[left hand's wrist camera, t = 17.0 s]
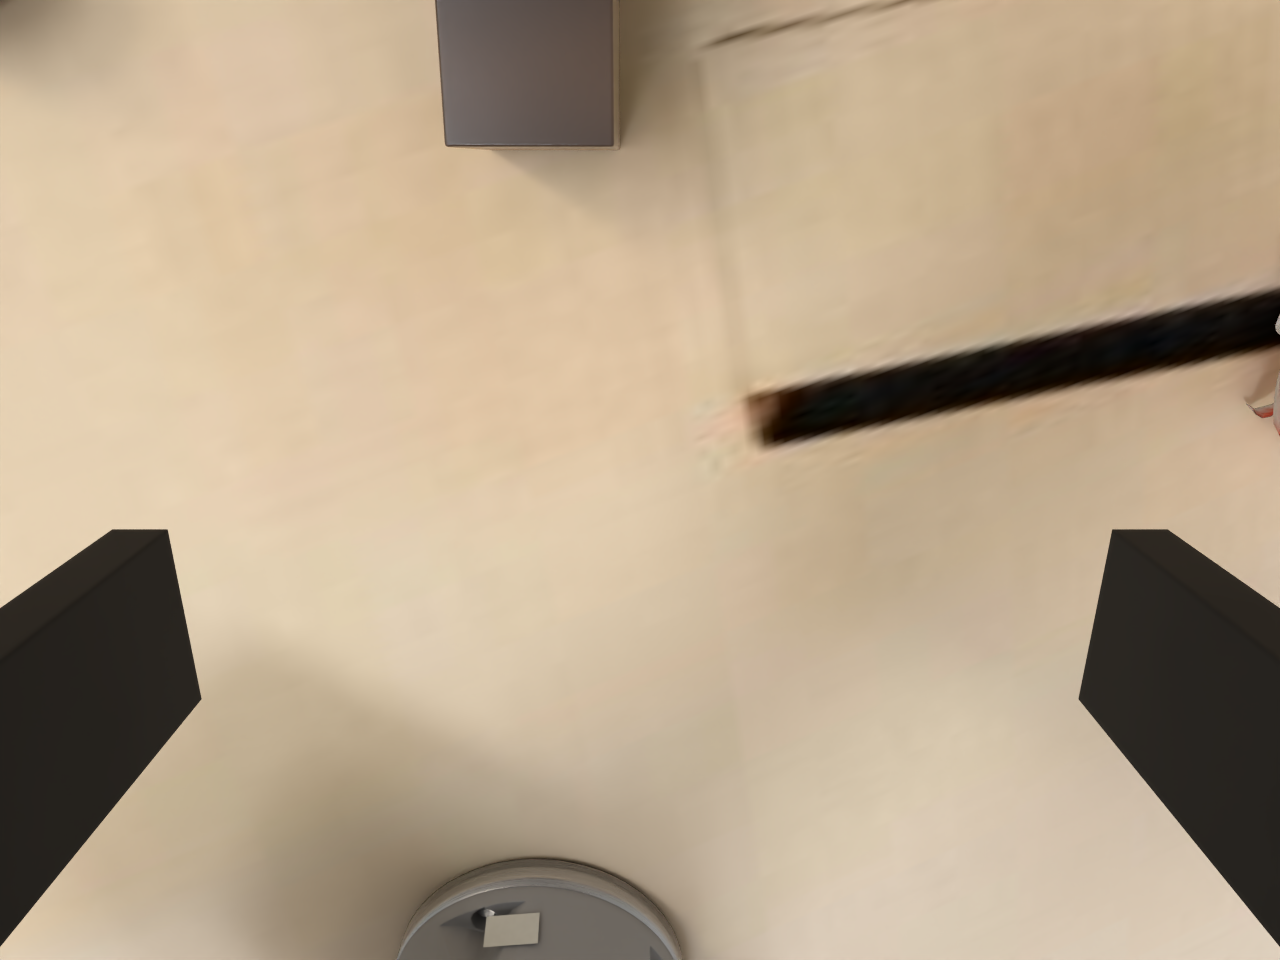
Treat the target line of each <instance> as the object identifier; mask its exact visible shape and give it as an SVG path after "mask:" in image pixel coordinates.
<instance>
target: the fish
mask: <svg viewBox="0 0 1280 960" xmlns="http://www.w3.org/2000/svg"><path fill="white" fill-rule="evenodd" d="M1276 331H1277V333H1278V334H1279V335H1280V315H1279V318H1278V320H1277V323H1276ZM1247 405H1248V404H1247ZM1248 407H1249V408H1250V409H1251V410H1252V411H1254V412H1255V414H1256V415H1258V416H1260V417H1261V418H1266V417H1270V416H1272V415H1273V421H1274V425H1275V427H1276V429H1277V431H1278V433H1279V435H1280V371H1279V374H1278V378H1277V383H1276V388H1275V397H1274V403H1273V404H1271V405H1267V406H1263V407H1259V408H1255V409H1253V408H1252V407H1251V406H1249V405H1248Z"/></svg>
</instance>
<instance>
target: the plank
mask: <svg viewBox="0 0 1280 960" xmlns="http://www.w3.org/2000/svg"><path fill="white" fill-rule="evenodd" d="M435 6H436V21H437V35H438V49H439V64H440V78H441V93H442V107H443V122H444V136H445V145H446V146H447V147H457V148H471V149H485V150H619V149H620V70H619V0H435Z"/></svg>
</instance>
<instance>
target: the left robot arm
mask: <svg viewBox="0 0 1280 960" xmlns="http://www.w3.org/2000/svg"><path fill="white" fill-rule="evenodd" d="M200 700H201V694H200V689H199V684H198V679H197V674H196V669H195V664H194V659H193V654H192V649H191V644H190V639H189V634H188V629H187V624H186V619H185V614H184V609H183V604H182V599H181V594H180V589H179V584H178V579H177V574H176V569H175V564H174V559H173V554H172V549H171V544H170V539H169V534H168V530H111V531H110V532H108V533H107V534H105V535H104V536H102V537H101V538H100V539H98V540H97V541H95V542H94V543H92V544H91V545H90V546H88V547H87V548H85V549H84V550H83V551H81V552H80V553H78V554H77V555H75V556H74V557H73V558H71V559H70V560H68V561H67V562H65V563H64V564H63V565H61V566H60V567H58V568H57V569H55V570H54V571H53V572H51V573H50V574H48V575H47V576H45V577H44V578H43V579H41V580H40V581H38V582H37V583H35V584H34V585H33V586H31V587H30V588H28V589H27V590H25V591H24V592H23V593H21V594H20V595H18V596H17V597H16V598H14V599H13V600H11V601H10V602H8V603H7V604H6V605H4V606H3V607H1V608H0V946H1V945H2V944H3V943H4V941H5V940H6V939H7V938H8V936H9V935H10V934H11V933H12V932H13V930H14V929H15V928H16V927H17V925H18V924H19V923H20V922H21V920H22V919H23V918H24V917H25V916H26V914H27V913H28V912H29V911H30V909H31V908H32V907H33V906H34V904H35V903H36V902H37V901H38V900H39V898H40V897H41V896H42V895H43V893H44V892H45V891H46V890H47V888H48V887H49V886H50V885H51V884H52V882H53V881H54V880H55V879H56V877H57V876H58V875H59V874H60V872H61V871H62V870H63V869H64V868H65V866H66V865H67V864H68V863H69V861H70V860H71V859H72V858H73V856H74V855H75V854H76V853H77V852H78V850H79V849H80V848H81V847H82V845H83V844H84V843H85V842H86V840H87V839H88V838H89V837H90V836H91V834H92V833H93V832H94V831H95V829H96V828H97V827H98V826H99V825H100V823H101V822H102V821H103V820H104V818H105V817H106V816H107V815H108V813H109V812H110V811H111V810H112V809H113V807H114V806H115V805H116V804H117V802H118V801H119V800H120V799H121V797H122V796H123V795H124V794H125V793H126V791H127V790H128V789H129V788H130V786H131V785H132V784H133V783H134V781H135V780H136V779H137V778H138V777H139V775H140V774H141V773H142V772H143V770H144V769H145V768H146V767H147V765H148V764H149V763H150V762H151V761H152V759H153V758H154V757H155V756H156V754H157V753H158V752H159V751H160V749H161V748H162V747H163V746H164V745H165V743H166V742H167V741H168V740H169V738H170V737H171V736H172V735H173V733H174V732H175V731H176V730H177V729H178V727H179V726H180V725H181V724H182V722H183V721H184V720H185V719H186V717H187V716H188V715H189V714H190V713H191V711H192V710H193V709H194V708H195V706H196V705H197V704H198V703H199V701H200ZM1079 700H1080V701H1081V703H1082V704H1083V705H1084V706H1085V708H1086V709H1087V710H1088V711H1089V713H1090V714H1091V715H1092V716H1093V717H1094V719H1095V720H1096V721H1097V722H1098V724H1099V725H1100V726H1101V727H1102V729H1103V730H1104V731H1105V732H1106V733H1107V735H1108V736H1109V737H1110V738H1111V740H1112V741H1113V742H1114V743H1115V745H1116V746H1117V747H1118V748H1119V749H1120V751H1121V752H1122V753H1123V754H1124V756H1125V757H1126V758H1127V759H1128V761H1129V762H1130V763H1131V764H1132V765H1133V767H1134V768H1135V769H1136V770H1137V772H1138V773H1139V774H1140V775H1141V777H1142V778H1143V779H1144V780H1145V781H1146V783H1147V784H1148V785H1149V786H1150V788H1151V789H1152V790H1153V791H1154V793H1155V794H1156V795H1157V796H1158V797H1159V799H1160V800H1161V801H1162V802H1163V804H1164V805H1165V806H1166V807H1167V809H1168V810H1169V811H1170V812H1171V813H1172V815H1173V816H1174V817H1175V818H1176V820H1177V821H1178V822H1179V823H1180V825H1181V826H1182V827H1183V828H1184V829H1185V831H1186V832H1187V833H1188V834H1189V836H1190V837H1191V838H1192V839H1193V841H1194V842H1195V843H1196V844H1197V845H1198V847H1199V848H1200V849H1201V850H1202V852H1203V853H1204V854H1205V855H1206V856H1207V858H1208V859H1209V860H1210V861H1211V863H1212V864H1213V865H1214V866H1215V868H1216V869H1217V870H1218V871H1219V872H1220V874H1221V875H1222V876H1223V877H1224V879H1225V880H1226V881H1227V882H1228V884H1229V885H1230V886H1231V887H1232V888H1233V890H1234V891H1235V892H1236V893H1237V895H1238V896H1239V897H1240V898H1241V900H1242V901H1243V902H1244V903H1245V904H1246V906H1247V907H1248V908H1249V909H1250V911H1251V912H1252V913H1253V914H1254V916H1255V917H1256V918H1257V919H1258V920H1259V922H1260V923H1261V924H1262V925H1263V927H1264V928H1265V929H1266V930H1267V932H1268V933H1269V934H1270V935H1271V936H1272V938H1273V939H1274V940H1275V941H1276V943H1277V944H1278V945H1279V946H1280V608H1279V607H1277V606H1276V605H1274V604H1273V603H1272V602H1270V601H1269V600H1267V599H1266V598H1264V597H1263V596H1262V595H1260V594H1259V593H1257V592H1256V591H1255V590H1253V589H1252V588H1250V587H1249V586H1247V585H1246V584H1245V583H1243V582H1242V581H1240V580H1239V579H1237V578H1236V577H1235V576H1233V575H1232V574H1230V573H1229V572H1227V571H1226V570H1225V569H1223V568H1222V567H1220V566H1219V565H1217V564H1216V563H1215V562H1213V561H1212V560H1210V559H1209V558H1207V557H1206V556H1205V555H1203V554H1202V553H1200V552H1199V551H1197V550H1196V549H1195V548H1193V547H1192V546H1190V545H1189V544H1188V543H1186V542H1185V541H1183V540H1182V539H1180V538H1179V537H1178V536H1176V535H1175V534H1173V533H1172V532H1170V531H1169V530H1112V534H1111V539H1110V544H1109V549H1108V554H1107V559H1106V564H1105V569H1104V574H1103V579H1102V584H1101V589H1100V594H1099V599H1098V604H1097V609H1096V614H1095V619H1094V624H1093V629H1092V634H1091V639H1090V644H1089V649H1088V654H1087V659H1086V664H1085V669H1084V674H1083V679H1082V684H1081V689H1080V694H1079ZM397 960H682V954H681V950H680V946H679V943H678V940H677V938H676V935H675V933H674V931H673V929H672V927H671V926H670V924H669V922H668V921H667V919H666V918H665V917H664V915H663V914H662V913H661V912H660V910H659V909H658V908H657V907H656V906H655V905H654V904H653V903H652V902H651V901H650V900H649V899H648V898H647V897H646V896H644V895H643V894H642V893H640V892H639V891H638V890H637V889H635V888H634V887H632V886H630V885H629V884H627V883H626V882H624V881H622V880H620V879H618V878H616V877H614V876H612V875H610V874H608V873H605V872H603V871H600V870H597V869H594V868H591V867H588V866H585V865H580V864H576V863H572V862H565V861H559V860H547V859H525V860H513V861H507V862H501V863H496V864H492V865H488V866H484V867H481V868H478V869H476V870H473V871H470V872H468V873H466V874H463V875H461V876H459V877H457V878H456V879H454V880H452V881H450V882H448V883H447V884H445V885H444V886H443V887H441V888H440V889H438V890H437V891H436V892H435V893H434V894H432V895H431V896H430V897H429V898H428V899H427V900H426V901H425V902H424V903H423V904H422V905H421V906H420V908H419V909H418V910H417V912H416V913H415V914H414V916H413V918H412V919H411V921H410V923H409V925H408V927H407V929H406V932H405V934H404V937H403V940H402V943H401V947H400V950H399V953H398V957H397Z"/></svg>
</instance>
